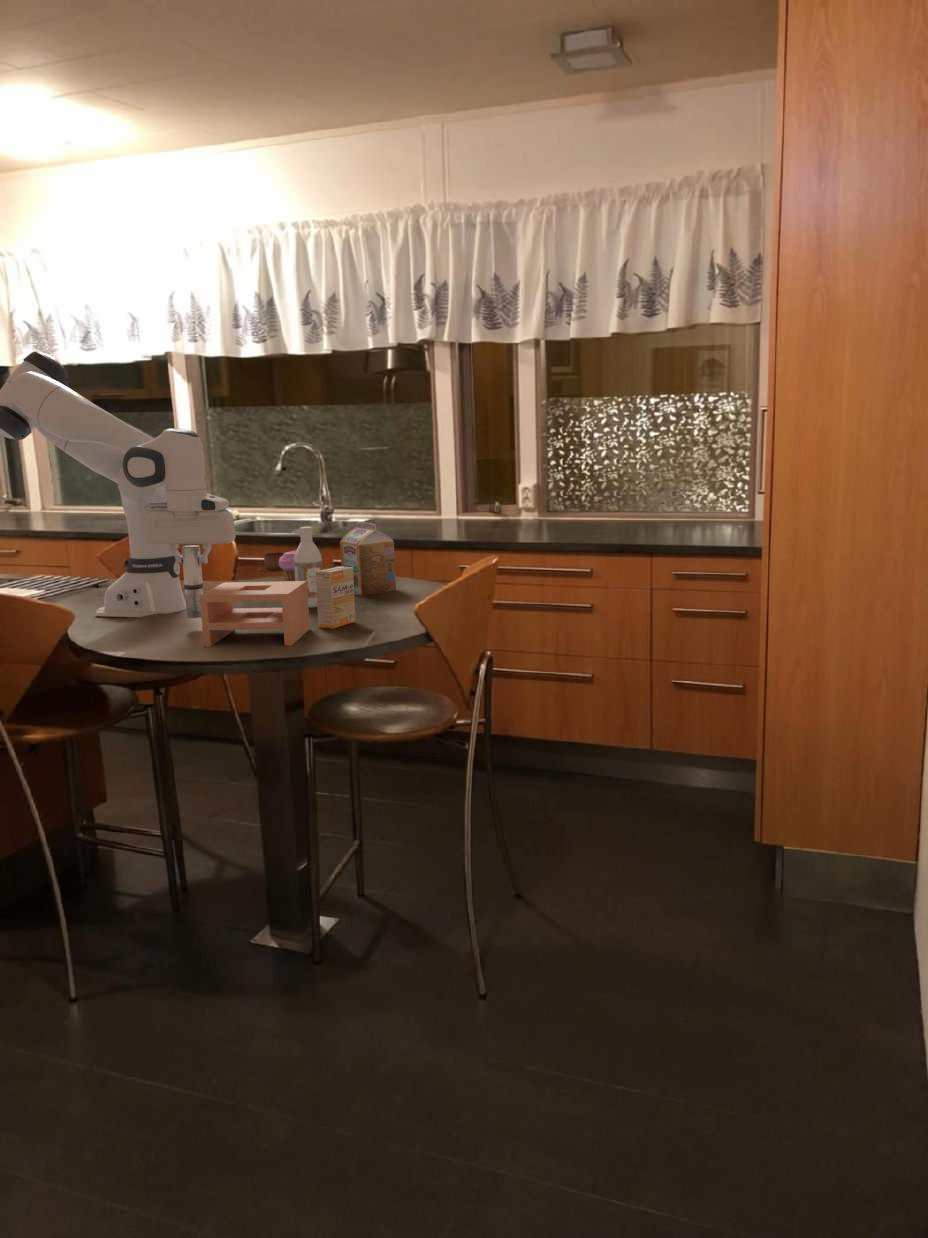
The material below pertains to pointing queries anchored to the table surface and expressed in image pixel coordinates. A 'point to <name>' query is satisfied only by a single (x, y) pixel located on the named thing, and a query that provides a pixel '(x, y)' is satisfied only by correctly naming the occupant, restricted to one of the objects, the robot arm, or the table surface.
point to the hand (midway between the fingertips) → (192, 563)
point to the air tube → (192, 580)
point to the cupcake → (288, 565)
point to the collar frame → (255, 609)
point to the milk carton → (369, 559)
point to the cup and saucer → (272, 562)
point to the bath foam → (307, 564)
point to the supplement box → (335, 597)
